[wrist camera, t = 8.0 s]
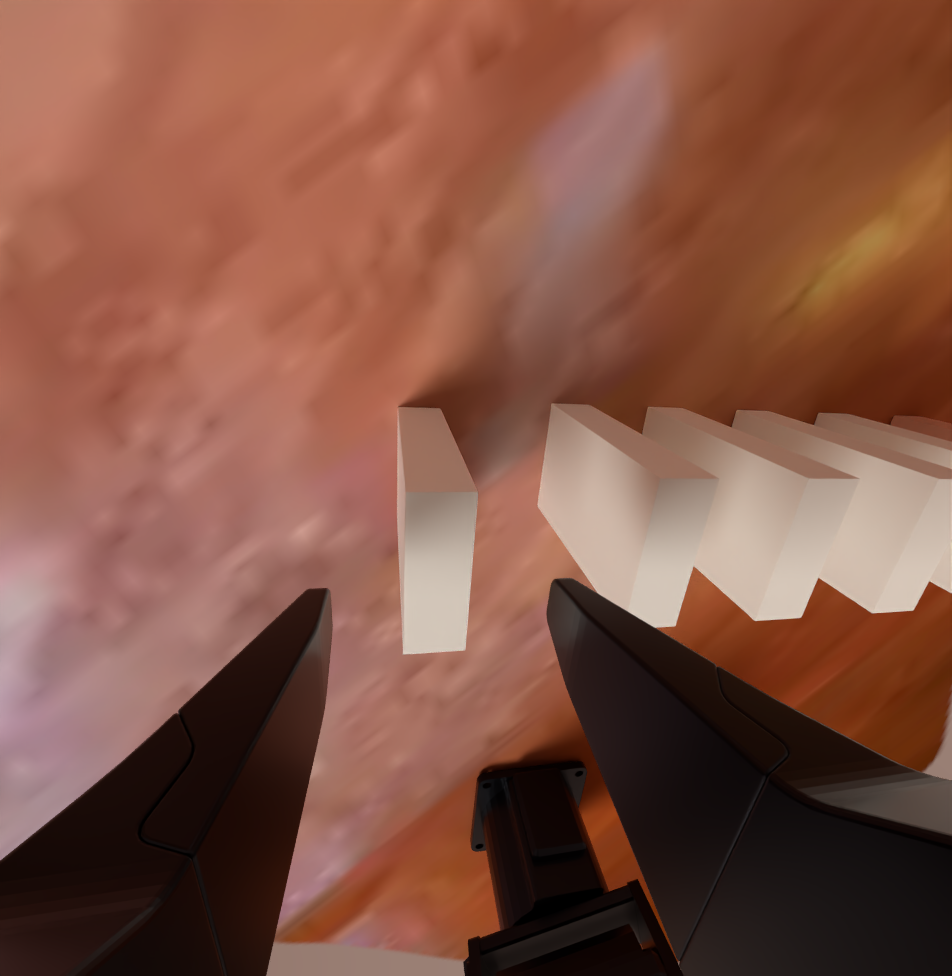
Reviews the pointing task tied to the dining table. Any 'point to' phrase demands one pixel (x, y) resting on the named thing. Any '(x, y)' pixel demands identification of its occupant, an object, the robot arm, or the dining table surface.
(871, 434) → the domino
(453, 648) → the domino
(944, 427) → the domino
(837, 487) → the domino
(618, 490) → the domino
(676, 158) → the dining table surface
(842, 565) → the domino
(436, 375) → the dining table surface
